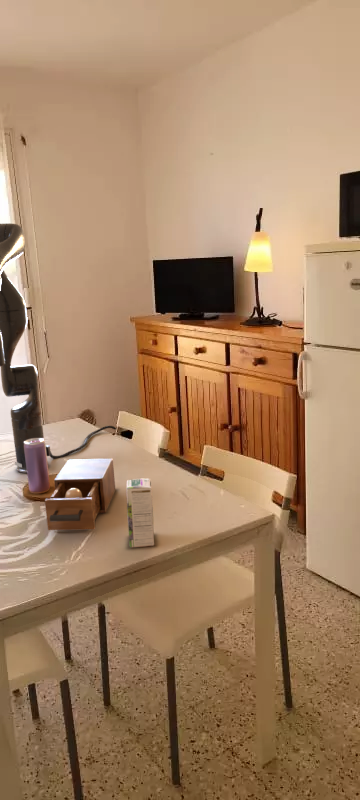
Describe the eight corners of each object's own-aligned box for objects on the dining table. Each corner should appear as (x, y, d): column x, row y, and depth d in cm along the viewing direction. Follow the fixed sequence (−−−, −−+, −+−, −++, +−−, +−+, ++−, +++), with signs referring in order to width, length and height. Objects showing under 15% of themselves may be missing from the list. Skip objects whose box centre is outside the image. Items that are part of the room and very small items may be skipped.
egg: (68, 512, 156) (65, 485, 154) (87, 511, 156) (84, 484, 154) (63, 520, 152) (60, 492, 150) (83, 520, 151) (80, 492, 149)
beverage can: (45, 494, 174) (39, 444, 170) (25, 494, 175) (19, 444, 171) (53, 486, 179) (48, 437, 176) (34, 486, 181) (28, 437, 177)
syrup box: (129, 537, 145) (125, 479, 142) (154, 534, 146) (150, 477, 142) (129, 548, 140) (125, 488, 136) (155, 546, 140) (151, 486, 137)
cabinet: (105, 513, 159) (102, 478, 157) (57, 514, 160) (54, 479, 158) (115, 490, 174) (112, 458, 172) (71, 491, 175) (68, 459, 173)
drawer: (90, 537, 144) (87, 507, 142) (42, 538, 145) (39, 508, 143) (105, 504, 162) (102, 477, 160) (62, 505, 163) (60, 478, 161)
